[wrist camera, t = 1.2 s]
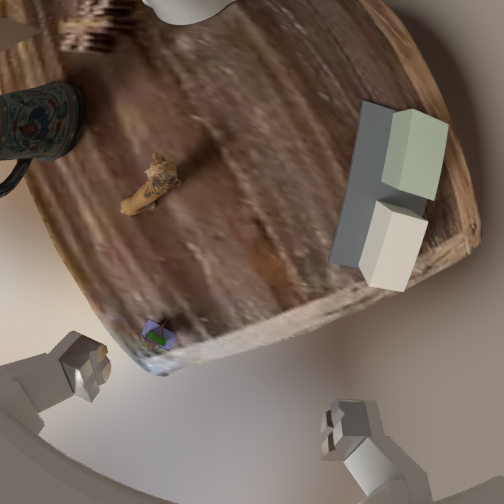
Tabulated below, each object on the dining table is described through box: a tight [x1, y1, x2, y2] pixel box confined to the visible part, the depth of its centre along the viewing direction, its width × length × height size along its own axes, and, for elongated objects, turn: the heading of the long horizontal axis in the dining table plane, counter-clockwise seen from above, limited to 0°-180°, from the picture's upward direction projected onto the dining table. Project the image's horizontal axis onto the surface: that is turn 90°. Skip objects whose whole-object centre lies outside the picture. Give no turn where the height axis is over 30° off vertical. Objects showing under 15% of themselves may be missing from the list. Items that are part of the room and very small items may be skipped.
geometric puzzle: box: [141, 318, 178, 352], centre depth 51 cm, size 7×7×8 cm
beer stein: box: [0, 81, 85, 198], centre depth 28 cm, size 16×19×25 cm
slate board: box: [328, 100, 427, 268], centre depth 38 cm, size 26×14×1 cm, turn 171°
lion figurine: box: [121, 152, 182, 218], centre depth 39 cm, size 15×5×9 cm, turn 132°
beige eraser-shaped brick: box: [358, 200, 428, 292], centre depth 37 cm, size 11×6×7 cm, turn 171°
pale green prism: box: [381, 109, 449, 201], centre depth 31 cm, size 11×6×7 cm, turn 171°
